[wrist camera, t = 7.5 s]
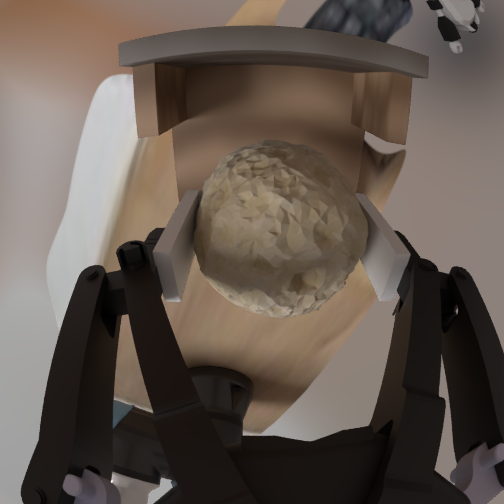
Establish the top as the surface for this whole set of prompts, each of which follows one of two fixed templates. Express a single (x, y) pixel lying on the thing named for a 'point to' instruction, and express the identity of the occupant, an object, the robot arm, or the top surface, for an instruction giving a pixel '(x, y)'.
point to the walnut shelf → (269, 93)
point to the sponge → (278, 228)
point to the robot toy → (456, 19)
